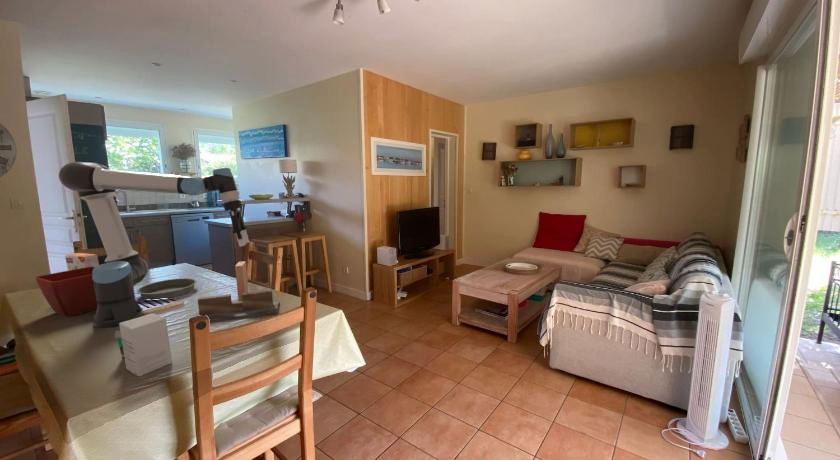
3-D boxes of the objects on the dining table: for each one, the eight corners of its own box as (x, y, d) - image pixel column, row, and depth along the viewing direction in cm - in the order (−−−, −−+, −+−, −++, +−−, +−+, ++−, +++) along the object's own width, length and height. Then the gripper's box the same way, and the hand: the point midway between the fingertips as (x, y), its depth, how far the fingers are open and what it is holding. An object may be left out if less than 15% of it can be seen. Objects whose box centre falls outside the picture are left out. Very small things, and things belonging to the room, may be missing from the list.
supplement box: (159, 355, 112) (153, 312, 110) (173, 363, 108) (167, 317, 106) (125, 369, 105) (118, 322, 103) (138, 377, 100) (131, 328, 98)
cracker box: (71, 295, 172) (64, 254, 169) (85, 291, 178) (79, 252, 175) (90, 298, 168) (83, 256, 165) (104, 294, 174) (98, 253, 171)
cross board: (199, 311, 150) (197, 293, 148) (279, 302, 159) (277, 285, 158) (189, 324, 136) (187, 304, 135) (276, 313, 146) (275, 295, 145)
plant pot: (41, 313, 149) (34, 276, 147) (97, 299, 166) (92, 265, 164) (58, 321, 141) (51, 282, 138) (116, 306, 157) (111, 270, 155)
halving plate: (242, 298, 166) (238, 261, 164) (248, 297, 167) (245, 261, 164) (238, 304, 158) (235, 266, 155) (245, 303, 159) (242, 265, 156)
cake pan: (138, 292, 177) (137, 284, 176) (195, 283, 192) (194, 275, 191) (136, 306, 158) (135, 297, 157) (199, 295, 172) (198, 286, 172)
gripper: (235, 198, 151) (250, 245, 154) (243, 199, 175) (255, 239, 178) (217, 202, 149) (231, 249, 152) (227, 203, 172) (240, 243, 175)
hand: (244, 244), depth 165 cm, fingers open, 13 cm apart
